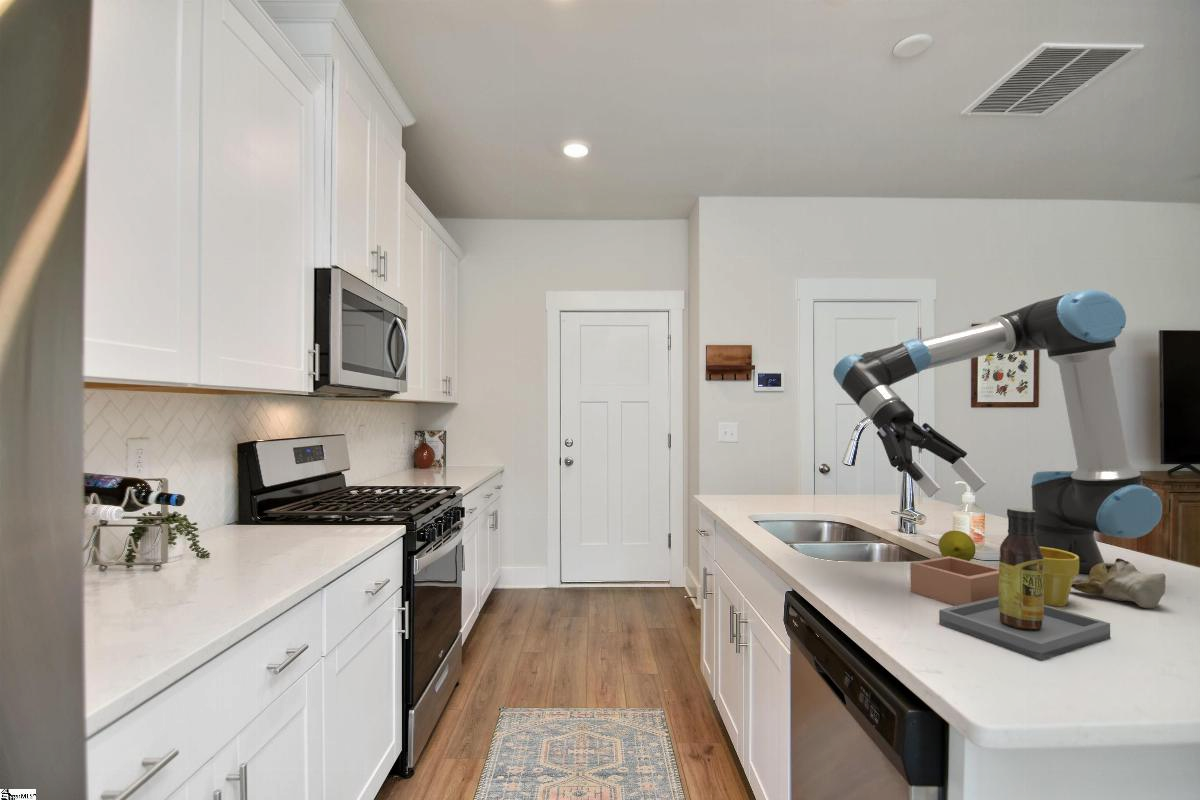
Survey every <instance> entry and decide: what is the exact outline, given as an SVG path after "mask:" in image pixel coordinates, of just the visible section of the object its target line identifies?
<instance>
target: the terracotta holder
mask: <svg viewBox="0 0 1200 800" xmlns="http://www.w3.org/2000/svg"><path fill="white" fill-rule="evenodd" d="M910 592H911V593H914V594H917V595H920V596H924V597H927V598H931V599H934V600H936V601H940V602H942V603H946V604H949V605H952V606H958V605H963V604H967V603H971V602H976V601H980V600H985V599H989V598H993V597H998V596H999V567H994V566H990V565H986V564H982V563H977V562H974V561H971V560H970V561H966V560H962V559H958V558H954V557H950V556H947V557H943V556H941V557H937V558H931V559H925V560H924V559H923V560H919V561H914V562H910Z"/></svg>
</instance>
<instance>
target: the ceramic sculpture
mask: <svg viewBox="0 0 1200 800" xmlns="http://www.w3.org/2000/svg"><path fill="white" fill-rule="evenodd" d="M1088 574H1089V576H1088V578H1087V579H1081V578H1080V579H1074V580H1073V583H1072V586H1071V589H1074V590H1077V591H1079V592H1081V593H1083V594H1087V595H1099V596H1102V597H1103V598H1105V599H1109V600H1112V601H1118V602H1119V601H1120V602H1125V601H1130V602H1135V604H1137V605H1138V606H1139V607H1141V608H1145V609H1155V608H1156V607H1157V606H1158V605H1159V603H1160V601H1161V599H1162V597H1163V596H1164V595H1165V593H1166V581H1167V580H1166V578H1167V576H1166V574H1165V573H1143V572H1141V571H1139V570H1138V569H1137V568H1136V567H1135V565H1134V564H1133V563H1131V562H1130V561H1128V560H1124V559H1122V558H1116V559H1115V561H1114V562H1108V561H1107V562H1106V561H1104V563H1099V564H1097V565H1095V566H1094V567H1092V568H1091V570H1090V573H1088Z"/></svg>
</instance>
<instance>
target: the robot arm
mask: <svg viewBox="0 0 1200 800" xmlns="http://www.w3.org/2000/svg"><path fill="white" fill-rule="evenodd" d="M1126 322H1127V315H1126V311H1125V308H1124V307H1123V305H1122V304H1121V302H1120V301H1119V300H1118V299H1117V298H1116V297H1114V296H1113V295H1111V294H1109V293H1108V292H1105V291H1103V290H1098V289H1088V290H1080V291H1079V290H1078V291H1073V292H1070V293H1066V294H1063V295H1060V296H1056V297H1052V298H1049V299H1045V300H1040V301H1036V302H1033V303H1032V304H1028V305H1025V306H1023V307H1021V308H1018V309H1015V310H1012V311H1010V312H1007V313H1004V314H1001V315H997V316H994V317H992V318H990V320H989V321H988V322H986V323H982V324H978V325H973V326H969V327H966V328H961V329H958V330H954V331H949V332H945V333H941V334H938V335H933V336H930V337H925V338H922V339H919V338H910V339H909V340H905V341H902V342H901V343H899V344H897V345H893V346H890V347H885V348H881V349H878V350H874V351H867V352H864V353H862V354H860V355H859V354H849V355H847V356H844V357H843V358H842V359H840V360H839V361H838V362H837V363H836V364H835V366H834V368H833V373H832V374H833V377H834V379H835V380H836V382H837V383H838V385H839V386H840V388H841V389H842V390H843V391H844V392H845V393H846V394H847V395H848V396H849V398H851V399H852V400H853V402H854V403H855V404H856V405H857V407H859V409H861V411H862V412H863V413H864V414H865V416H866V417H867V418H868V419H869V420H870V421H872V423H873V425H874V426H875V427H876V428H877V430H878V431H877V432H876V435H877V436H878V437H879V439H880V440H881V442H882V444H883V445H882V446H883V448H884V450H885V453H886V455H887V458H888V460H889V461H888V462H889V464H890V466H892V468H896V470H897V471H898V472H899V473H903V471H905V472H906V473H907V474H908V475H909V477H911V479H912V480H914V482H915V483H916V484H917V486H918V487H919V488H920V489H921V490H922V491H923V492H924V494H925V495H926V496H927V497H928V498H932V497H933V496H934V495H935V494H936V493H937V492H938V491H939V490H940V489H942V487H941V486H940V485H939V483H937V482H936V481H935V480H934V478H933V477H932V476H931V475H930V474H929V472H927V470H926V469H925V468H924V467H923V466H922V464H921V463H919V462H918V460H914V461H913V453H912V452H913V451H912V447H917V448H919V449H920V450H922V449H925V450H926V451H929V452H930V453H932V454H933V455H935V456H937V457H939V458H941V459H942V460H944V461H946V462H947V463H949V464H951V466H950V467H951V468H952V469H953V471H955V473H956V474H957V475H958V476H959V477H960V478H961V479H962V480H963V481H964V483H966V484H967V485H968V487H970V488H971V490H972V491H973V492H978V491H979V490H981V488H983V487H984V486H985V485H986V484H987V481H985V480H984V478H983V477H981V475H980V474H979V473H978V472H977V471H976V470H975V469H974V468H973V467H972V466H971V465H970V463H968V462H967V461H966V460H965V458H966V456H967V455H968V453H967V451H965V450H964V449H962V448H961V447H959V446H958V445H957V444H955V443H954V442H952V441H950V439H948V438H946V437H945V436H944V435H942V434H941V433H939V432H938V431H936V430H935V429H934V428H933V427H932V426H931V425H930V424H929V423H927V422H924V423H923V424H922V425H921V426H920V425H919V424H917V423H916V422H914V418H915V412H914V411H913V409H911V408H910V407H909V406H908V405H907V404H906V403H905V401H903V400H902V398H901V397H900V395H898V394H897V393H896V392H895V391H894V390H893V389H892V388H891V387H890V386H891V385H894V384H896V383H898V382H901V381H902V380H906V379H907V378H909V377H911V376H914V375H916V374H917V375H918V374H920V372H922V371H924V370H925V371H926V370H930V369H934V368H937V367H942V366H945V365H950V364H954V363H958V362H962V361H966V360H971V359H975V358H979V357H982V356H983V357H984V356H986V355H991V354H995V353H998V354H1001V355H1008V354H1011V353H1018V352H1024V351H1025V352H1026V351H1039V350H1046V351H1047V356H1048V359H1050V360H1051V361H1053V362H1055V363H1056V364H1057V365H1058V368H1059V373H1060V379H1061V385H1062V390H1063V396H1064V401H1065V405H1066V412H1067V417H1068V421H1069V428H1070V432H1071V437H1072V438H1071V439H1072V443H1073V448H1074V453H1075V459H1076V465H1077V467H1076V469H1075V470H1061V471H1060V470H1059V471H1058V470H1057V471H1056V470H1055V471H1054V470H1052V471H1051V470H1050V471H1047V470H1046V471H1045V470H1044V471H1037V472H1035V473H1034V474H1033V476H1032V479H1031V486H1030V487H1031V498H1032V499H1031V504H1032V506H1031V508H1032V509H1031V510H1034V511H1036V520H1035V534H1036V535H1035V537H1036V540H1037V542H1038V545H1039V547H1047V548H1053V549H1059V550H1063V551H1067V552H1070V553H1073V554H1076V555H1077V556H1079V573H1078V574H1090V570H1091V568H1092V567H1094V566H1095V565H1097V564H1099V563H1105V559H1104V558H1103V555H1102V552H1101V551H1100V548H1099V546H1098V543H1097V542H1096V539H1095V532H1096V533H1101V534H1104V535H1106V536H1109V537H1113V538H1116V537H1117V538H1123V539H1137V538H1140V537H1143V536H1146V535H1147V534H1149V533H1150V532H1151V531H1153V529H1154V527H1155V526H1158V525H1159V522H1160V521H1161V518H1162V515H1163V503H1162V500H1161V498H1160V496H1159V495H1158V494H1157V492H1154V491H1153V489H1151V488H1149V487H1147V486H1145V485H1144V483H1143V479H1142V473H1141V472H1140V470H1138V469H1136V468H1134V467H1133V466H1131V464H1130V462H1129V456H1128V452H1127V447H1126V442H1125V441H1126V440H1125V435H1124V431H1123V425H1122V420H1121V415H1120V410H1119V403H1118V400H1117V395H1116V390H1115V384H1114V378H1113V373H1112V368H1111V362H1110V356H1111V354H1112V353H1113V352H1114V351H1115V350H1116V349H1117V343H1116V338H1117V337H1118V336H1120V335H1121V334H1122V332H1123V329H1124V328H1125V326H1126Z"/></svg>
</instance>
